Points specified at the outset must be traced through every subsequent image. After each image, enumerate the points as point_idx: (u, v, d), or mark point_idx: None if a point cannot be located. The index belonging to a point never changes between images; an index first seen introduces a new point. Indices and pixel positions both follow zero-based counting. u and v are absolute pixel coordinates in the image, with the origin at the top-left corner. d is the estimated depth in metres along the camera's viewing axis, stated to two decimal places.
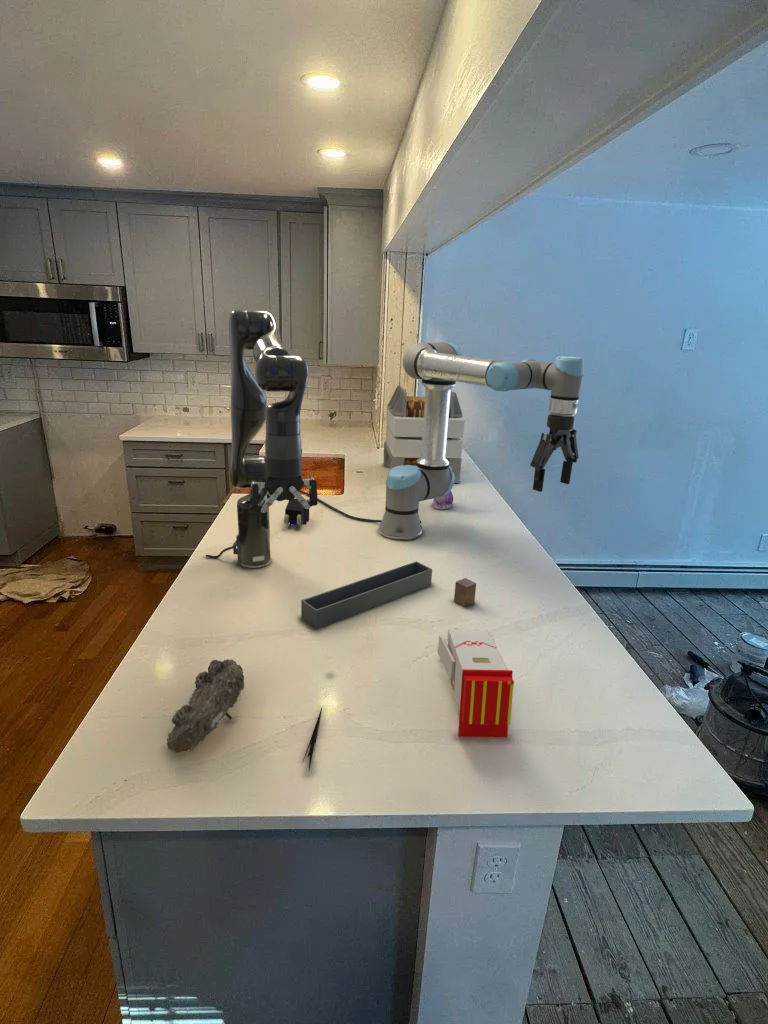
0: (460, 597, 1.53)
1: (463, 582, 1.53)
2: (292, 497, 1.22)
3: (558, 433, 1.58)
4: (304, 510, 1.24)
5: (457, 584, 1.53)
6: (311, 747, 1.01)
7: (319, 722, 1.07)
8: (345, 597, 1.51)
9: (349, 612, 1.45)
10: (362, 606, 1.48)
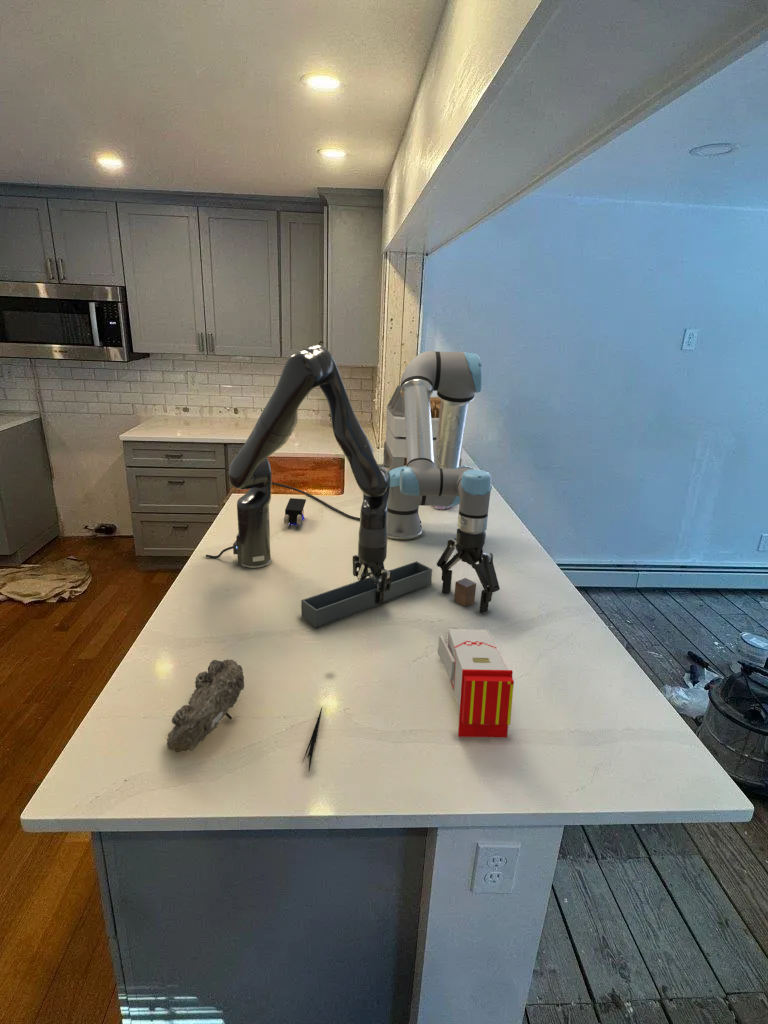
0: (460, 597, 1.53)
1: (463, 582, 1.53)
2: None
3: (460, 545, 1.50)
4: None
5: (457, 584, 1.53)
6: (311, 747, 1.01)
7: (319, 722, 1.07)
8: (345, 597, 1.51)
9: (349, 612, 1.45)
10: (362, 606, 1.48)
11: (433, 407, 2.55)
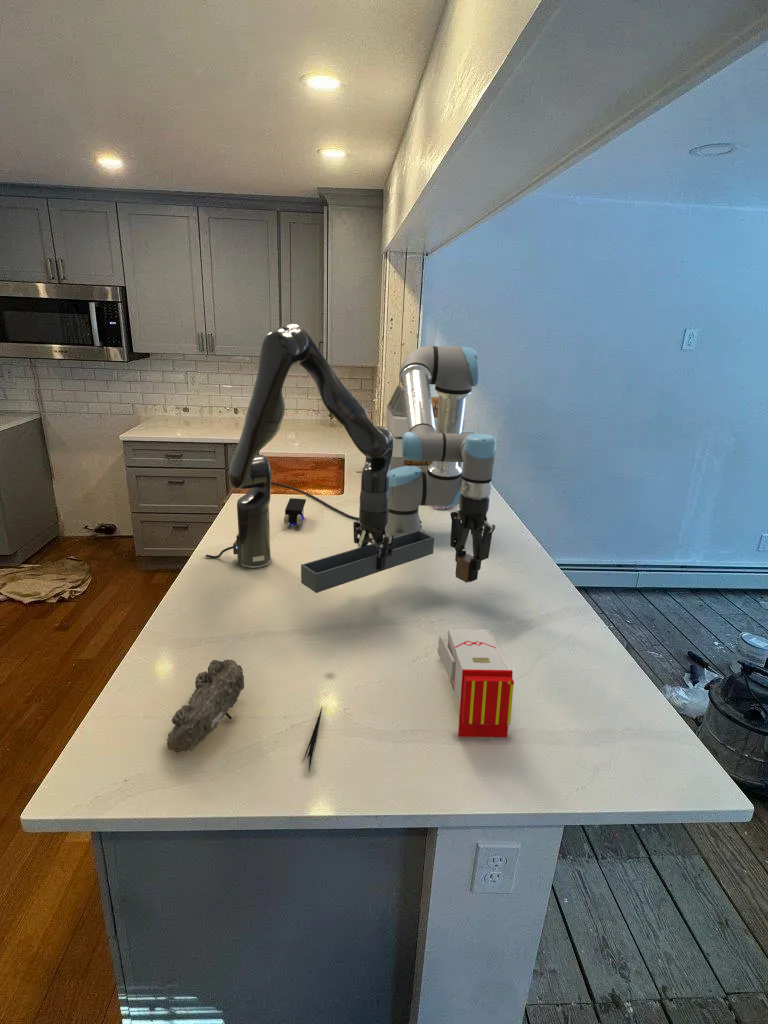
0: (462, 572, 1.51)
1: (465, 557, 1.51)
2: None
3: None
4: None
5: (459, 559, 1.51)
6: (311, 747, 1.01)
7: (319, 722, 1.07)
8: (345, 564, 1.48)
9: (350, 577, 1.42)
10: (363, 572, 1.44)
11: (433, 407, 2.55)
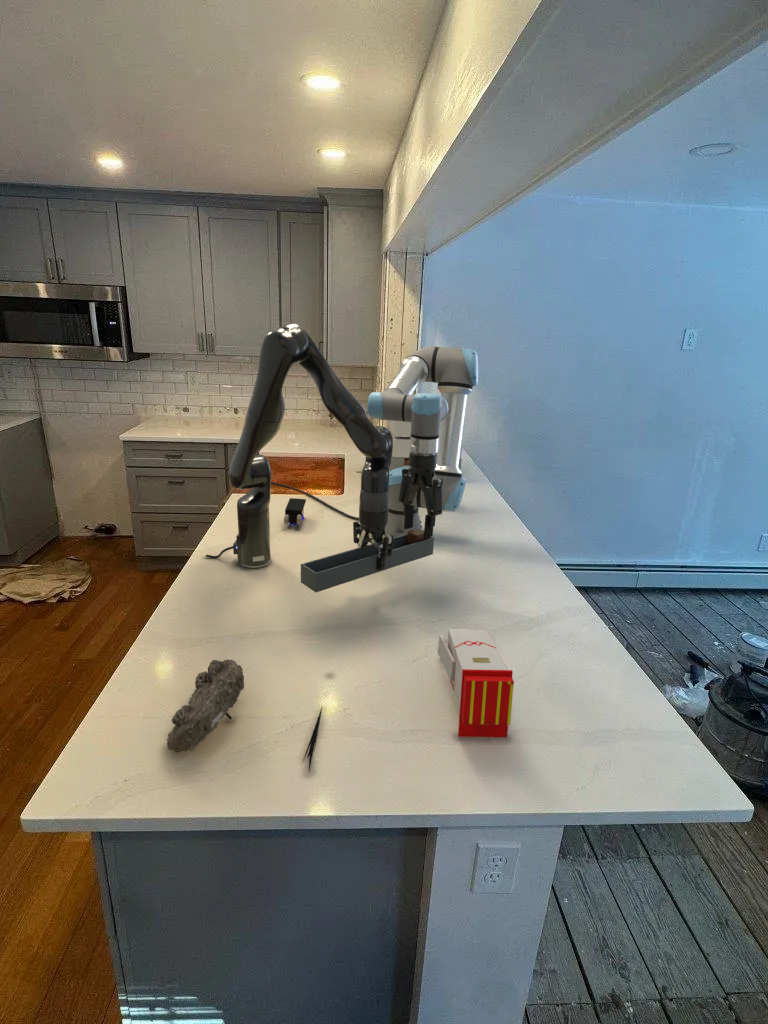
0: None
1: (415, 531, 1.59)
2: None
3: (413, 468, 1.54)
4: None
5: (409, 533, 1.58)
6: (311, 747, 1.01)
7: (319, 722, 1.07)
8: (345, 564, 1.48)
9: (349, 577, 1.42)
10: (363, 572, 1.44)
11: None
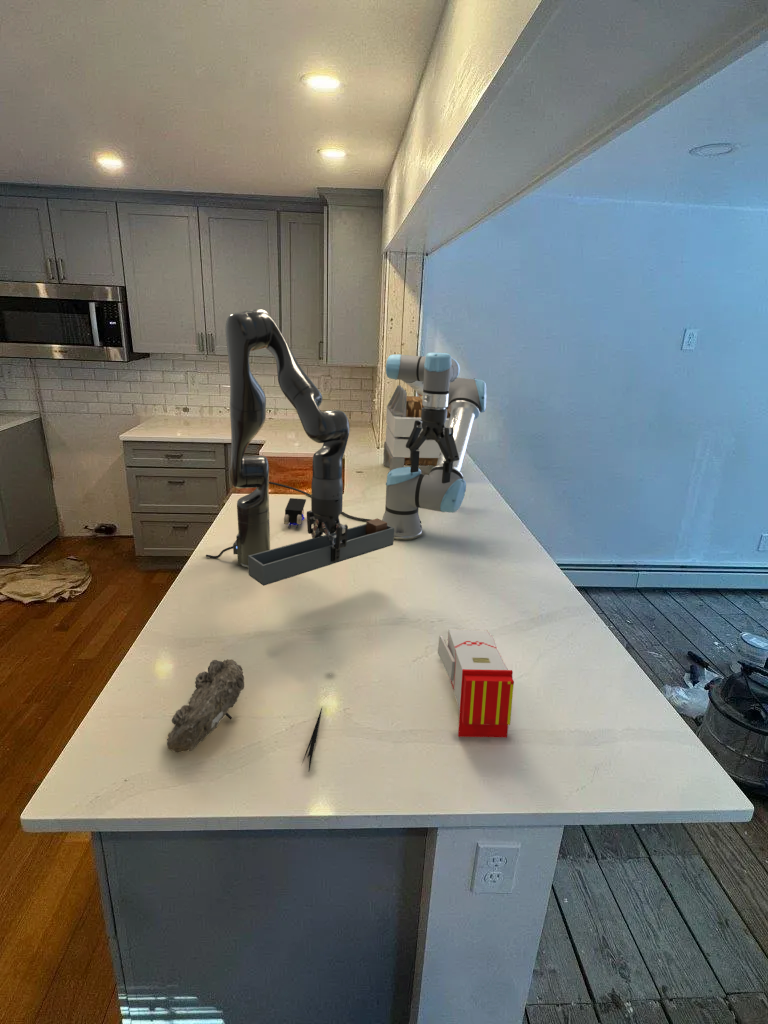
0: None
1: (374, 521, 1.51)
2: None
3: (425, 423, 1.69)
4: None
5: (367, 523, 1.51)
6: (311, 747, 1.01)
7: (319, 722, 1.07)
8: None
9: (301, 569, 1.34)
10: (316, 564, 1.36)
11: None
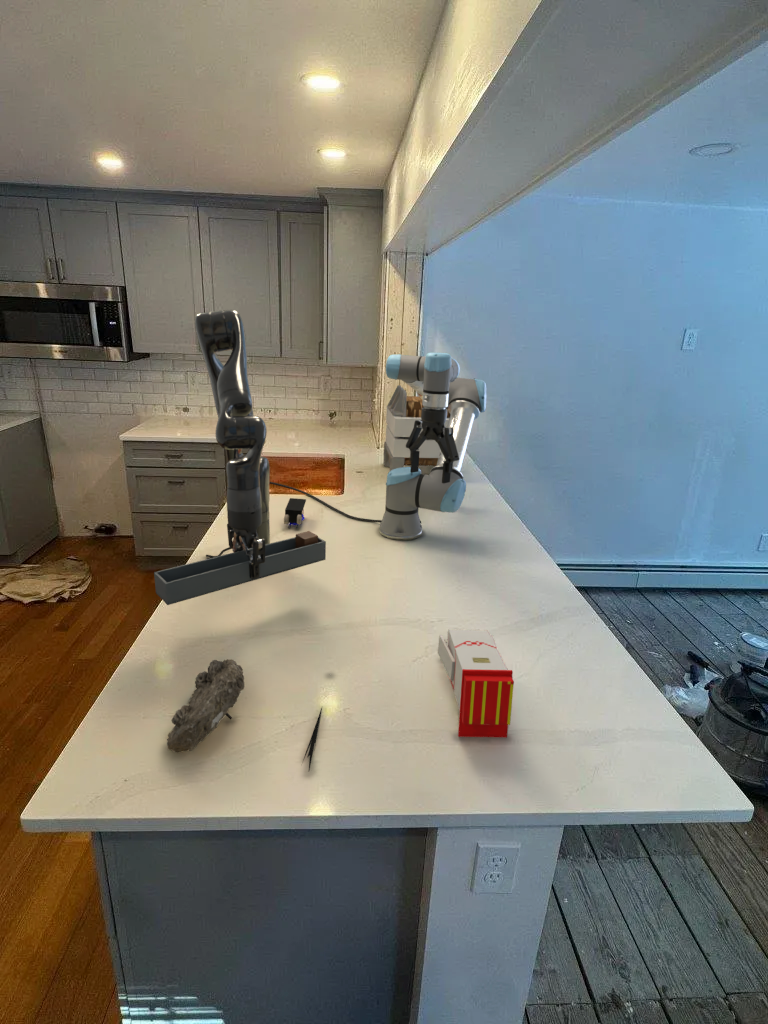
0: None
1: (304, 534, 1.41)
2: None
3: (425, 423, 1.69)
4: None
5: (297, 536, 1.40)
6: (311, 747, 1.01)
7: (319, 722, 1.07)
8: None
9: (213, 587, 1.24)
10: (231, 581, 1.26)
11: None
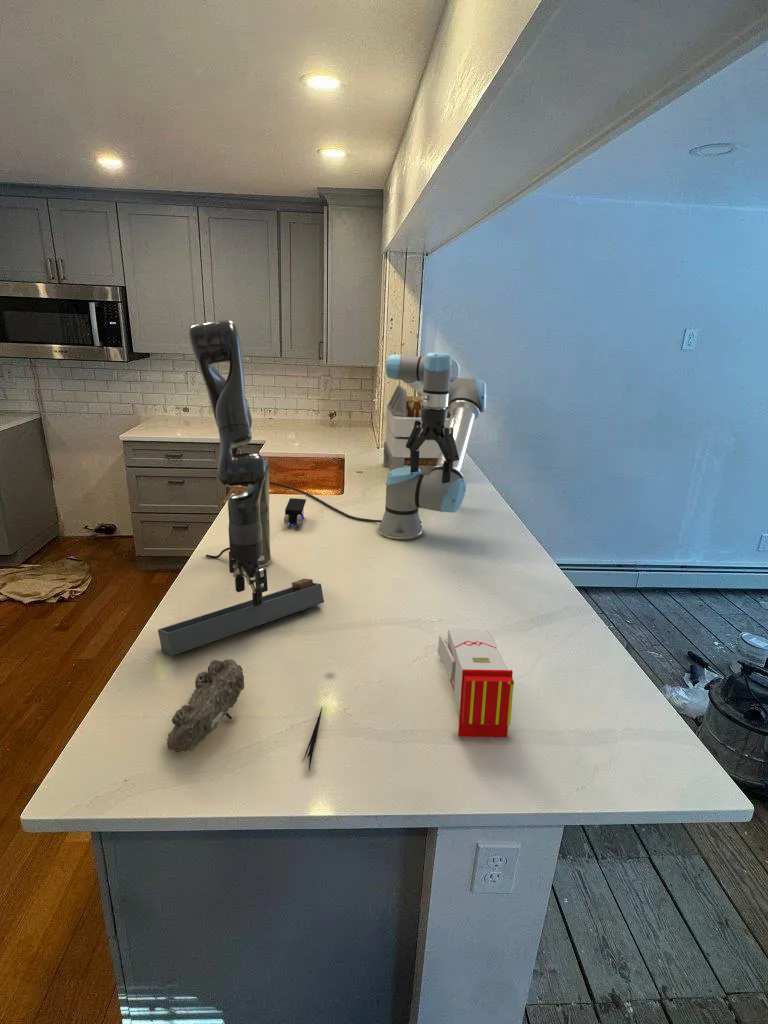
0: None
1: (299, 581, 1.47)
2: None
3: (425, 423, 1.69)
4: None
5: (293, 584, 1.47)
6: (311, 747, 1.01)
7: (319, 722, 1.07)
8: None
9: (215, 635, 1.29)
10: (232, 628, 1.31)
11: None
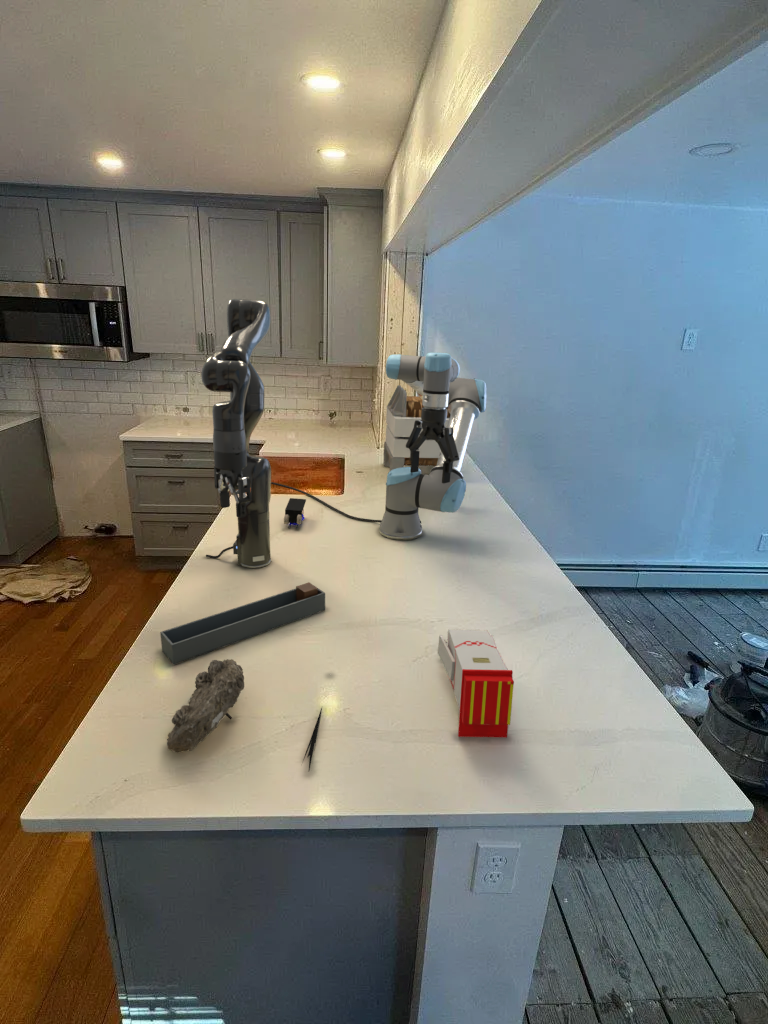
0: None
1: (304, 586, 1.46)
2: None
3: (425, 423, 1.69)
4: None
5: (297, 588, 1.45)
6: (311, 747, 1.01)
7: (319, 722, 1.07)
8: (219, 626, 1.35)
9: (217, 644, 1.29)
10: (235, 637, 1.31)
11: None
